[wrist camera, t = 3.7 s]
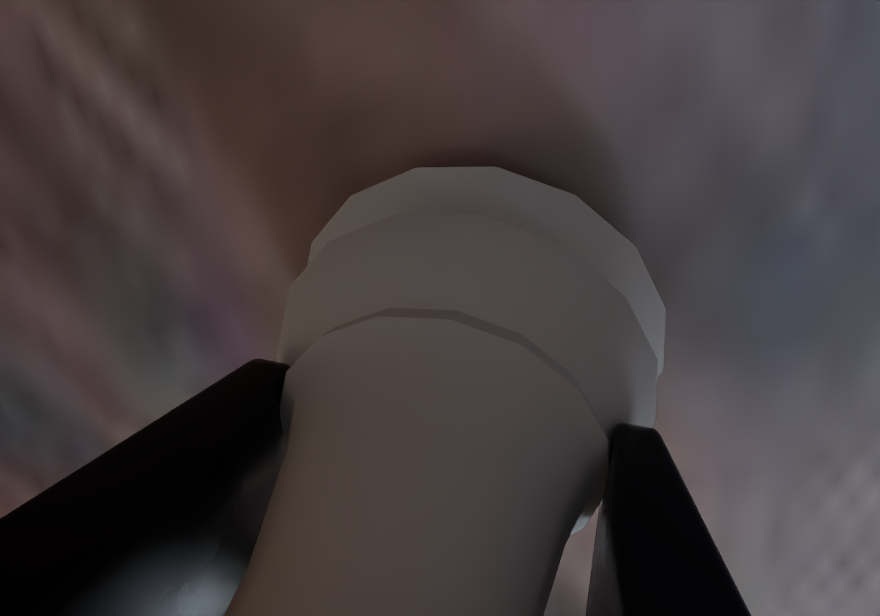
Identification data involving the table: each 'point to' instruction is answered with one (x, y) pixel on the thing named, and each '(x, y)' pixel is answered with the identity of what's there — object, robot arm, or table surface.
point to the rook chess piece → (450, 398)
